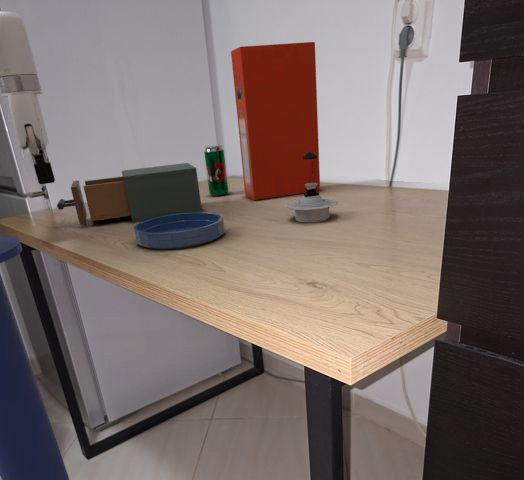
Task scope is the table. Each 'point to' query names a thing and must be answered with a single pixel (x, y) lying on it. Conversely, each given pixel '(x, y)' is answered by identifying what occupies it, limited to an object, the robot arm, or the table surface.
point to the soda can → (216, 170)
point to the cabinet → (162, 191)
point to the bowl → (179, 230)
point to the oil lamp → (311, 202)
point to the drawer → (99, 199)
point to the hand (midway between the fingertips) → (47, 182)
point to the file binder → (277, 117)
